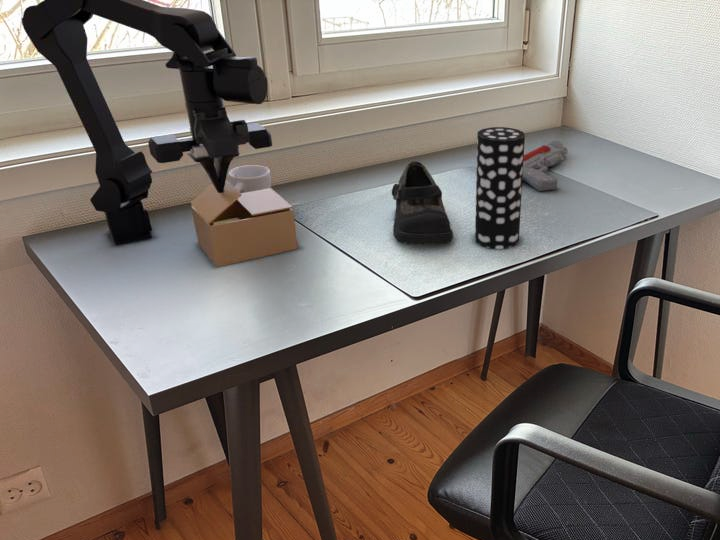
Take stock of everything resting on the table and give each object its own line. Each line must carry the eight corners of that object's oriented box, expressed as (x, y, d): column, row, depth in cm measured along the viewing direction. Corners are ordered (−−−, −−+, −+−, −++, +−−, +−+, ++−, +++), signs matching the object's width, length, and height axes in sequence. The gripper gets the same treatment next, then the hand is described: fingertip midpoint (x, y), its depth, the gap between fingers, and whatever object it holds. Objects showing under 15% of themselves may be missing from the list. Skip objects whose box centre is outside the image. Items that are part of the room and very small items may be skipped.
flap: (209, 224, 122) (207, 222, 122) (191, 203, 130) (190, 202, 129) (241, 195, 123) (240, 194, 123) (222, 176, 130) (221, 175, 130)
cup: (258, 224, 142) (252, 184, 138) (220, 220, 143) (213, 180, 139) (281, 204, 151) (276, 166, 147) (245, 201, 152) (239, 163, 148)
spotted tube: (473, 231, 142) (475, 127, 131) (515, 230, 143) (521, 127, 132) (476, 249, 135) (479, 140, 124) (521, 248, 136) (528, 140, 125)
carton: (216, 267, 126) (208, 223, 122) (198, 244, 134) (190, 202, 129) (298, 248, 133) (293, 206, 129) (276, 228, 141) (271, 187, 136)
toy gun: (600, 151, 177) (546, 137, 183) (549, 182, 158) (489, 165, 164) (598, 165, 179) (544, 151, 185) (547, 197, 160) (488, 180, 166)
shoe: (397, 256, 132) (395, 203, 126) (386, 207, 151) (384, 159, 146) (457, 252, 134) (458, 200, 128) (438, 204, 153) (438, 157, 148)
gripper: (155, 118, 108) (176, 218, 116) (277, 102, 116) (289, 197, 125) (138, 101, 115) (159, 196, 124) (254, 88, 124) (266, 177, 133)
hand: (220, 192), depth 126 cm, fingers closed
